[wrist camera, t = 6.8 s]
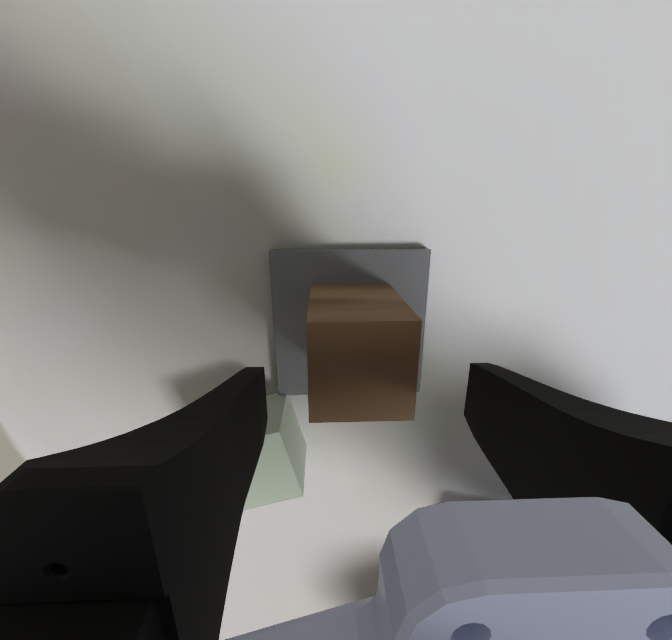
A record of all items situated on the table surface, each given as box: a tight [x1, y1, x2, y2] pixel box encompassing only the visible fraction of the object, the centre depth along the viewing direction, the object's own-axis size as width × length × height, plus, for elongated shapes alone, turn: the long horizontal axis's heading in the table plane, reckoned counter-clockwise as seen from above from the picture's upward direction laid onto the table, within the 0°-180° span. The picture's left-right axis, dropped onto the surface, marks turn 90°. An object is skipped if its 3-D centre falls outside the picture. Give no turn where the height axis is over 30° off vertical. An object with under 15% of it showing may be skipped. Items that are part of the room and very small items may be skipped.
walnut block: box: [306, 284, 422, 423], centre depth 15 cm, size 4×4×6 cm
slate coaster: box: [269, 248, 431, 395], centre depth 18 cm, size 8×8×1 cm
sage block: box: [243, 392, 306, 510], centre depth 19 cm, size 4×4×4 cm
